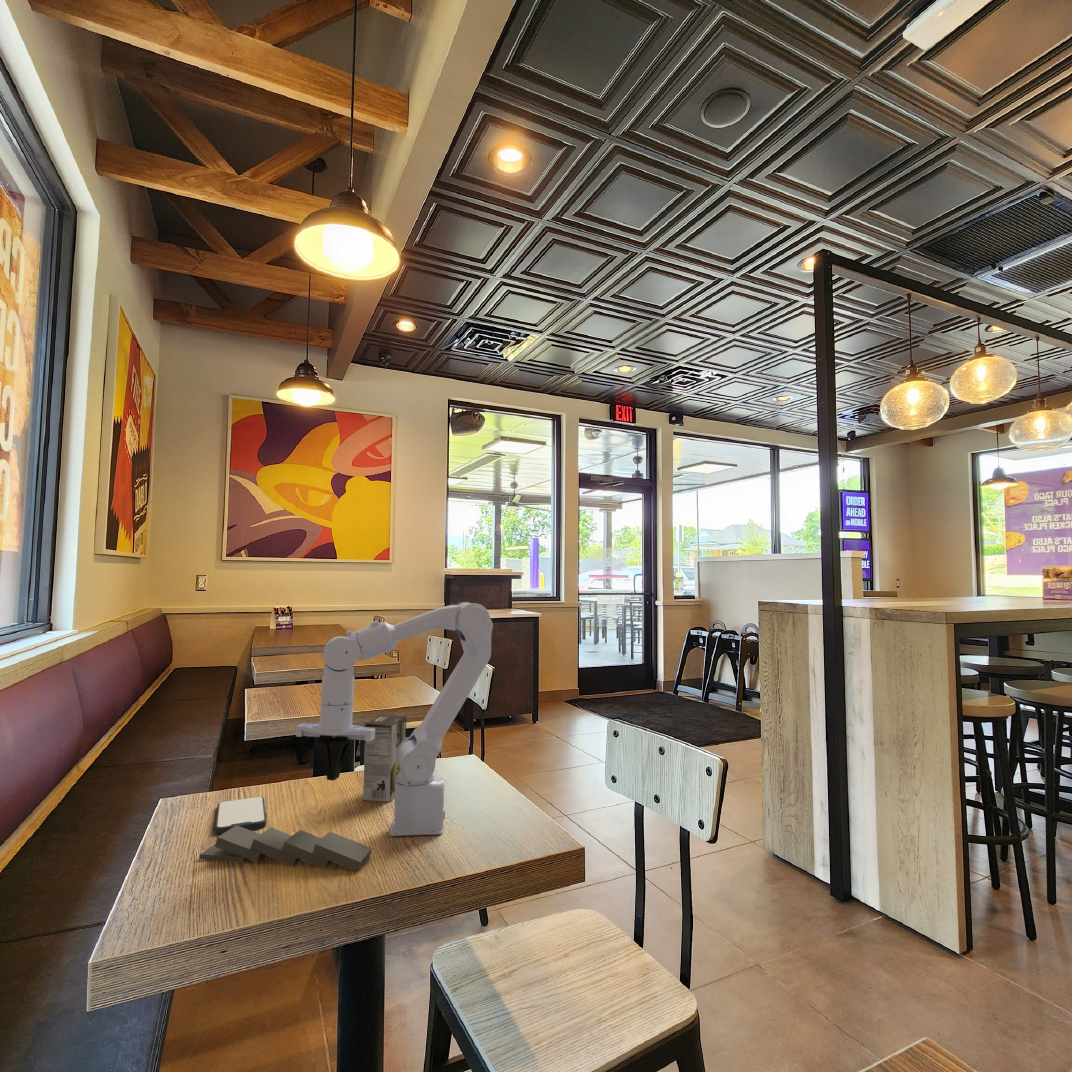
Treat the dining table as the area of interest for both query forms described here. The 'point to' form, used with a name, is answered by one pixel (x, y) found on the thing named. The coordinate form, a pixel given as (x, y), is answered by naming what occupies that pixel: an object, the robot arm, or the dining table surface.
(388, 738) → the coffee box
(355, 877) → the dining table surface
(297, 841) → the domino
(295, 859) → the domino
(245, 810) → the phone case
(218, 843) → the domino
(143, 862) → the dining table surface
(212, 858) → the end domino
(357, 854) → the domino
